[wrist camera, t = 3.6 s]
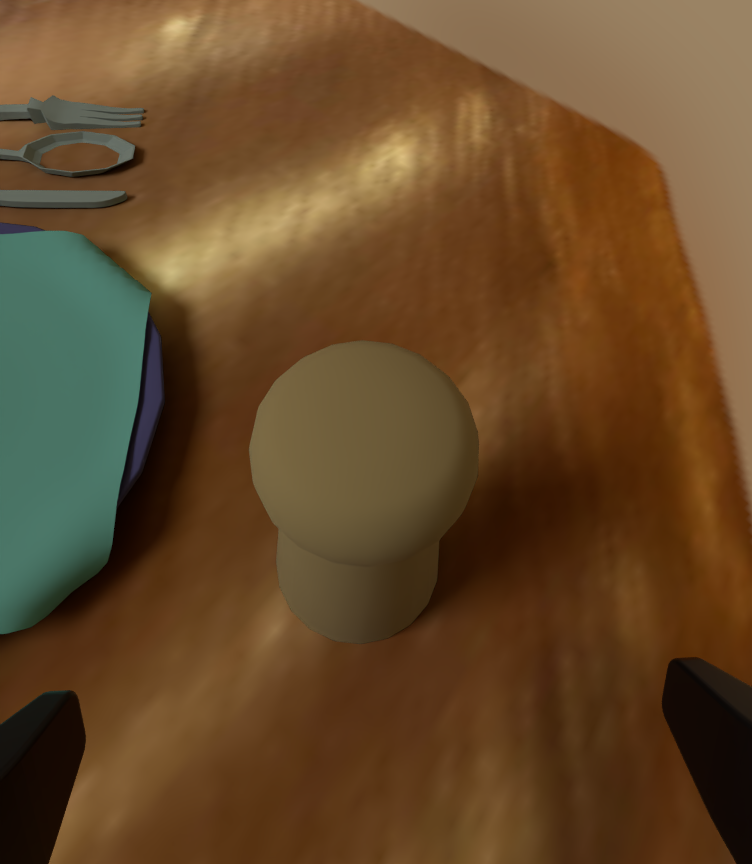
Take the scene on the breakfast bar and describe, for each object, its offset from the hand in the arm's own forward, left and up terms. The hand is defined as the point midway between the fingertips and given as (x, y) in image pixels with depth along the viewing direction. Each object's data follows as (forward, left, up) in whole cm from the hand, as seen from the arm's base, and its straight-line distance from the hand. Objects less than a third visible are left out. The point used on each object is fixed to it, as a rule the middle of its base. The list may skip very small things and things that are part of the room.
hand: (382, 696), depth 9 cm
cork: (+5, -3, -12) cm, 13 cm away
